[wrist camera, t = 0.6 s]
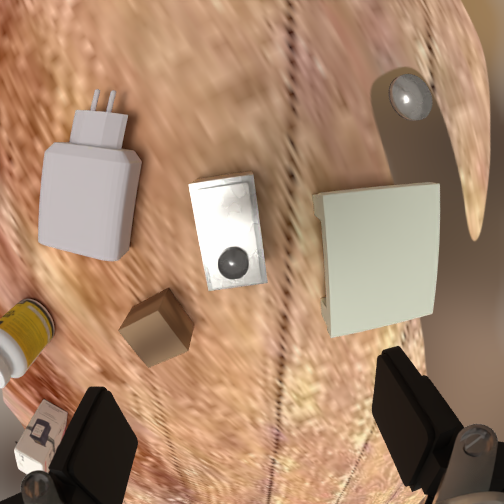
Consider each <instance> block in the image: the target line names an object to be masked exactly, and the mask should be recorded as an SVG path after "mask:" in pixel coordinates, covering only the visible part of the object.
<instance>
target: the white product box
mask: <svg viewBox="0 0 504 504" xmlns="http://www.w3.org/2000/svg"><path fill="white" fill-rule="evenodd" d="M67 414H68V413H67V412H66V411H64V410H62V409H60V408H58V407H57V406H55V405H53V404H51V403H50V402H48V401H46V400H45V399H43V401H42V402H41V404H40V405H39V407H38V409H37V410H36V412H35V414H34V416H33V417H32V419H31V421H30V422H29V424H28V426H27V428H26V429H25V431H24V433H23V435H22V436H21V438H20V440H19V442H18V443H17V445H16V447H15V449H14V452H15V457H16V461H17V466H18V469H20V470H21V471H23V472H24V473H26V474H29V473H30V472H32V471H36V470H42V471H45V472H47V473H48V471H49V468H48V467H49V465H50V463H51V461H52V459H53V457H54V454H55V452H56V450H57V448H58V446H59V444H60V442H61V440H62V438H63V436H64V434H65V429H66V422H67Z"/></svg>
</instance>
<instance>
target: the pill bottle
mask: <svg viewBox="0 0 504 504" xmlns="http://www.w3.org/2000/svg"><path fill="white" fill-rule="evenodd" d="M53 336H54V323H53V320H52V318H51V316H50V314H49V312H48V311H47V310H46V308H45V307H44V306H43V305H41V304H40V303H39V302H37V301H35V300H32V299H24V300H21V301H20V302H19V303H17V304H16V305H15V306H14V307H13V308H12V309H11V310H10V311H8V312H7V313H6V314H5V315H4V316H3V317H2V318H1V319H0V388H3V387H5V385H6V384H7V383H8V382H9V380H10V377H12V378H19V377H21V376H23V375H24V374H25V372H26V371H27V370H28V368H29V367H30V366H31V364H32V363H33V362H34V361H35V359H36V358H37V357H38V355H39V354H40V353H41V352H42V350H43V349H44V348H45V347H46V346H47V344H48V343H49V342H50V341H51V340H52V338H53Z"/></svg>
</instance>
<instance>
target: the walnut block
mask: <svg viewBox="0 0 504 504" xmlns="http://www.w3.org/2000/svg"><path fill="white" fill-rule="evenodd" d="M193 328H194V324H193V322H192V321H191V319H190V318H189V317H188V315H187V314H186V312H185V311H184V309H183V308H182V307H181V305H180V304H179V302H178V301H177V299H176V298H175V296H174V295H173V294H172V292H171V291H170V289H169V288H167V289H165V290H163V291H162V292H160V293H158V294H156V295H154V296H152V297H150V298H148V299H147V300H145V301H143V302H141V303H139V304H137V305H135V306H134V307H132V309H131V310H130V312H129V314H128V315H127V317H126V319H125V320H124V322H123V324H122V325H121V327H120V329H119V330H118V331H119V332H120V334H121V335H122V336H123V337H124V339H125V340H126V341H127V342H128V344H129V345H130V346H131V347H132V349H133V350H134V351H135V352H136V354H137V355H138V356H139V357H140V358H141V360H142V361H143V362H144V363H145V364H146V366H147V367H148V368H149V367H152V366H154V365H157V364H159V363H162V362H164V361H166V360H169V359H171V358H173V357H176V356H178V355H180V354H183V353H185V352H187V351H188V350H189V346H190V341H191V337H192V332H193Z"/></svg>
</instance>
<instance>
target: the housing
mask: <svg viewBox="0 0 504 504" xmlns="http://www.w3.org/2000/svg"><path fill="white" fill-rule="evenodd" d="M189 189H190V195H191V201H192V206H193V212H194V218H195V223H196V229H197V234H198V239H199V245H200V250H201V255H202V260H203V265H204V270H205V275H206V280H207V285H208V290H209V291H212V290H220V289H227V288H235V287H242V286H249V285H256V284H263V283H268V282H267V274H266V266H265V258H264V251H263V243H262V235H261V228H260V220H259V213H258V205H257V198H256V190H255V183H254V176H253V173H252V172H251V171H245V172H238V173H231V174H224V175H218V176H211V177H205V178H199V179H196V180H195V181H193V182H192V183H190V184H189Z"/></svg>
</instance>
